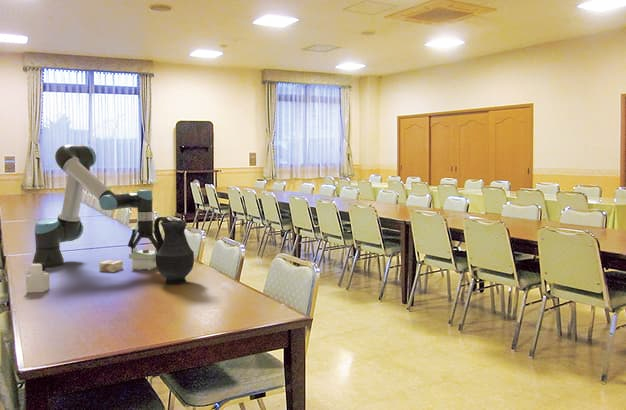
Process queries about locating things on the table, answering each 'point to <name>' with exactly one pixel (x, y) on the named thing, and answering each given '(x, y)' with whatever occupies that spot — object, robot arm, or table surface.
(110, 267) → the stand
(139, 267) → the dish
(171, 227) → the pitcher
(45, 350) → the table surface
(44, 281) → the medicine bottle
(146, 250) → the lid
